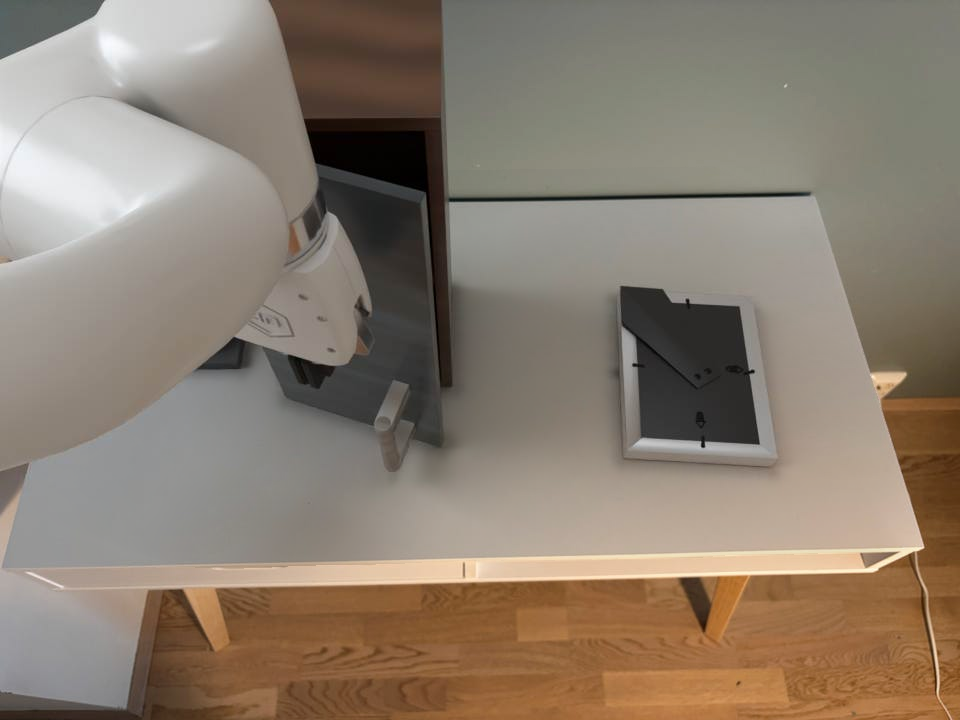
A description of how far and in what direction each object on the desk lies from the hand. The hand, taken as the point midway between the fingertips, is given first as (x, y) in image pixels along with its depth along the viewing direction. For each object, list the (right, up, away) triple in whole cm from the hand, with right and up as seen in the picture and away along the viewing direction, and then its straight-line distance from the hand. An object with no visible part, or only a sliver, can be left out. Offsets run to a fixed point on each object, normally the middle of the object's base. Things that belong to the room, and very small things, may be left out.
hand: (317, 370), depth 56 cm
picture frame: (+36, -1, +28) cm, 46 cm away
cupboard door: (-1, -8, +23) cm, 24 cm away
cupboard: (0, +4, +30) cm, 30 cm away
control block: (-19, +4, +30) cm, 36 cm away
